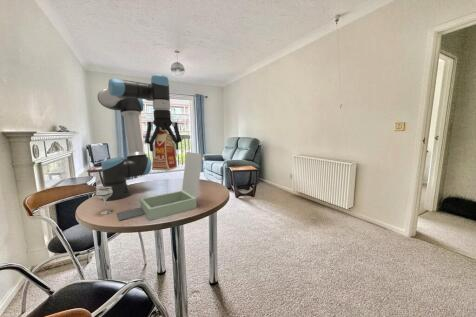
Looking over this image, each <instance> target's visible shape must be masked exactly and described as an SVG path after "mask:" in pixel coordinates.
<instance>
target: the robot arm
mask: <svg viewBox="0 0 476 317" xmlns="http://www.w3.org/2000/svg"><path fill="white" fill-rule="evenodd" d="M107 85H108V87H107V88H104V89H102V90H100V91H99V92H98V94H97V101H98V102H99V103H100V105H101V106H102V107H104V108H105V109H109V110H113V111H120V114H121V115H122V116H123V120H124V127H125V134H126V135H125V136H126V142H127V149H128V150H127V151H128V154H127V155H126V158H124V157H123V156H122V157H121V156H120V157H114V158H108V159H105V160H103V161H102V162H101V174H102V181H103V182H102V183H103V187H106V186H111V187H112V190H113V193H112V195H111V196H110V197H109V198H107V199H106V201H115V200H116V201H117V200H120V199H121V200H122V199H124V198H127V197H130V195H131V190H130V188H129V187H130V186H128V183H127V178H134V177H142V176H145V175H146V176H147V175H148V174H150V172H151V170H152V159H151V158H150V157H149V156H148V155H147V153H145V152H144V145H143V137H142V130H141V123H140V116H141V114H142V112H143V111H144V101H143V100H146V101H148V102H152V109H153V121H147V122H146V125H147V127H146V128H147V129H146V132H145V138H144V143H145V144H148V145H149V147H148V148H149V151H150V152H151V153H152V155H151V156H152V158H153V156H154V158H155V157H156V154H155V138H156V136H157V134H158V132H159V130H160V128H161V130H166V131H167V133H168V134H170V135H171V136H172V140H173V144H174V150H175V157H176V158H177V156H178V153H177V150H179V143H181V142H182V141H183V140H182V137H181V134H180V130H179V127H178V125H179V124H178V122H177V121H172V116H171V114H172V112H171V101H170V99H171V98H170V96H171V95H170V82H169V78H168V76H166V75H164V74H153V75H151V78H150V83H146V82H139V81H134V80H127V79H122V78H115V77H114V78H112V77H111V78H109V79H108V84H107ZM153 125H154V126H155V128H154V131H153V133H152V127H153ZM171 126H172V128H173V130H174V132H173V131H172V128H171ZM159 127H160V128H159ZM151 133H152V136H151ZM101 200H102V201H104V200H103V199H101Z"/></svg>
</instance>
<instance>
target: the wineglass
mask: <svg viewBox="0 0 476 317" xmlns="http://www.w3.org/2000/svg"><path fill="white" fill-rule="evenodd" d="M95 191H96V192H95V195H96V197H97V198H99V199H101V200H102V199H103V200H102V201H104V207H105V210H103V211H101V212H100V215H107V214H110V213H113V210H111V209H110V210H109V209H108V208H107V200H106V199H107V198H109V197H110V196H111V195H112V193H113V190H112V187H111V186H106V187H104V186H100V187H97V188H95Z"/></svg>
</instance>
